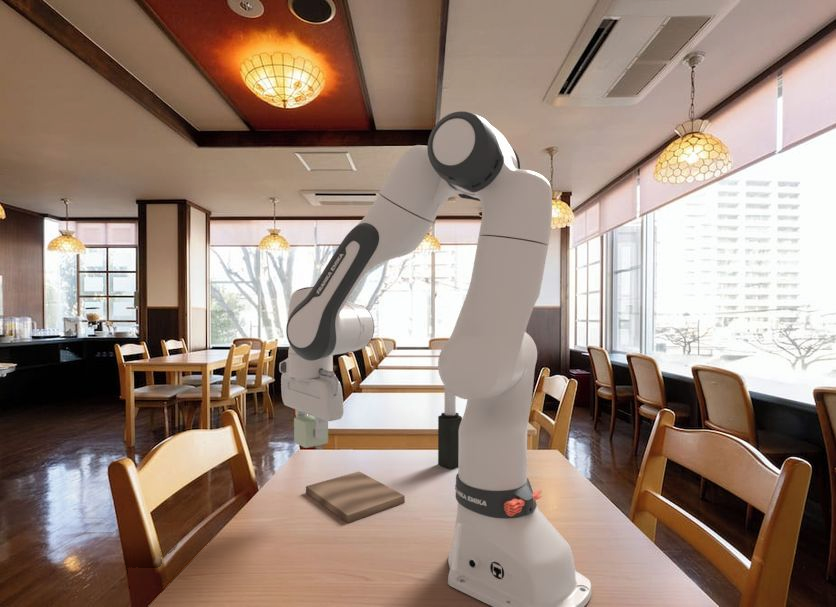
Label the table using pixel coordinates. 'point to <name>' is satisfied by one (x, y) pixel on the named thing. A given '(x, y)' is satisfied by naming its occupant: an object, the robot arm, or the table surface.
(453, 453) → the black and grey rod
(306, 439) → the cube
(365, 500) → the serving board
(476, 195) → the robot arm
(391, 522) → the table surface
